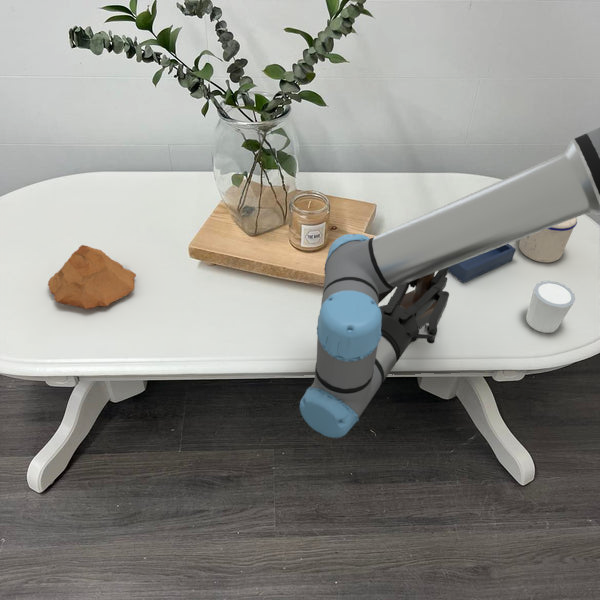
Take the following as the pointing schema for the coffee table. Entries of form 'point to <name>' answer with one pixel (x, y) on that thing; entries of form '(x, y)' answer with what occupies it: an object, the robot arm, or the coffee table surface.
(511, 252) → the tray
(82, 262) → the stone
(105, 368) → the coffee table surface
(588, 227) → the coffee table surface
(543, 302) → the white short cylinder
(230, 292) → the coffee table surface
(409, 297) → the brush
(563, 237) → the teacup with lid
